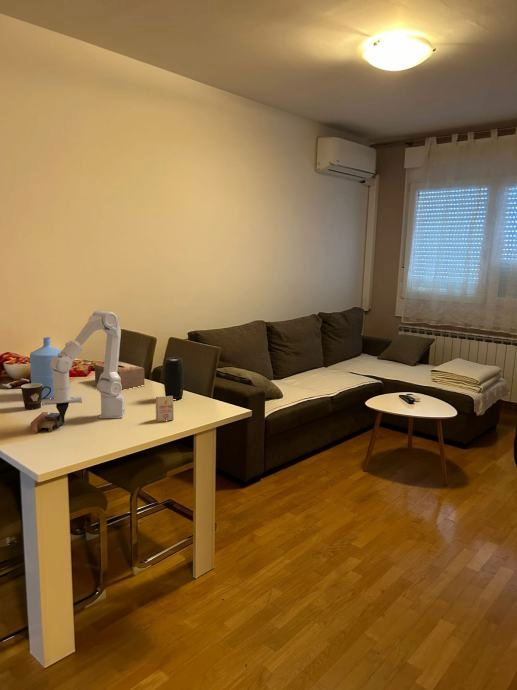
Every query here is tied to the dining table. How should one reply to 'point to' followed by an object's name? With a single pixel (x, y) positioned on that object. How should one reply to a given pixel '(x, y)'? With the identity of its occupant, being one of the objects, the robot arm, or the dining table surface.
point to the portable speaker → (174, 377)
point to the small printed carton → (164, 408)
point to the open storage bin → (57, 419)
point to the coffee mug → (33, 395)
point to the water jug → (43, 367)
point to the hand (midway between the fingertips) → (63, 421)
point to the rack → (42, 423)
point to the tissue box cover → (124, 374)
